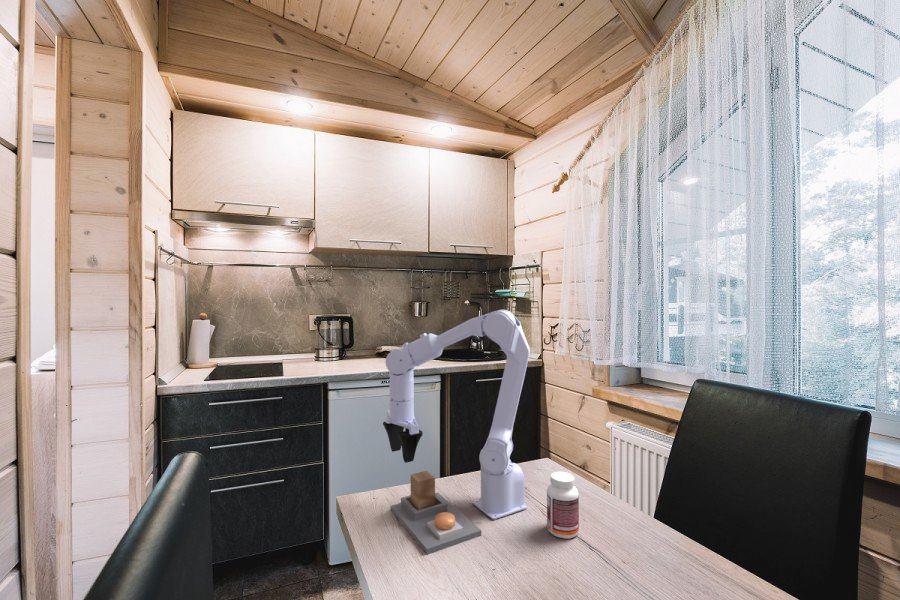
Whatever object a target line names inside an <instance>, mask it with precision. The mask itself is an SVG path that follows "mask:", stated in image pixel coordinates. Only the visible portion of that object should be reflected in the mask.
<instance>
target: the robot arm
mask: <svg viewBox="0 0 900 600" xmlns="http://www.w3.org/2000/svg"><path fill="white" fill-rule="evenodd" d="M472 336H474V337H484V336H486V337H487V338H489V339H490V340H491V341H493V342H495V343H496V344H497V345H499V347H500V349H501V350H502V351H503V353H504V354H505V355H506V360H505V365H504V370H503V374H502V378H501V384H500V387H499V391H498V397H497V400H496V405H495V408H494V409H495V410H494V414H493V418H492V423H491V427H490V430H489V433H488V437H487V438H486V442H485V444H484V446H483V448H482V449H481V450H480V453H479V456H478V457H479V458H478V459H479V463H480V499H477V500H474V501H473V503H472V504H473V505H474V506H475V507H477V509H479V510H480V511H481V512H482V513H484V514H485V515H486V516H487V517H488V518H490V519H491V520H497V519H500V518H503V517H506V516H508V515H511V514H514V513H517V512H520V511H523V510H526V509H527V508H528V506H527V505H526V504H525V499H526V497H525V495H526V494H525V491H526V490H525V486H526V485H525V475H524V472H523V470H522V468H521V467H520V465H519V464H518V463H515V462H512V461H511V458H510V457H511V454H512V452H513V450H514V443H513V440H512V437H513V430H514V423H515V420H516V415H517V411H518V406H519V402H520V397H521V393H522V389H523V385H524V381H525V377H526V372H527V367H528V362H529V360H530V359H529V358H530V355H531V351H530V350H531V349H530V345H529V343H528V341H527V338H526V336H525V333H524V331H523V327H522V323H521V321H520V320H519V319H518V318H517V317H516V316H515V315H514V313H513V312H511V311H510V310H507V309H499V310H494V311H491V312H489V313H486V314H482V315H479V316H476V317H472V318H470V319H467V320H466V321H464V322H461V323H460V324H459V325H456V326H454V327H453V328H451V329H448V330H446V331H445V332H443V333H441V334H438V335H437V334H434V333H428V334H427V333H426V332H424V333H422V334H420V335H419V338H417V339H415V340H414V341H412V342H405V343H403V344H402V347H400V348H394V349H392V351H390V352H389V353H388V354H387V355H386V358H385V366H386V369H387V370H388V372H389V409H387V410H386V418H384V421H383V422H382V425H383V427H384V429H385V432H386V434H387V438H388V441H389V442H388V443H389V446H390V450H391V452H392V453H393V452H399V451H402V458H403V459H402V460H403V463H405V464H407V463H410V462H414V460H415V459H414V458H415V456H416V450H417V447H418V444H419V442H420V440H421V438H422V437H423V431H422V430H421V429H420V425H419V424H418V423H417V420H416V416H415V389H414V387H415V386H414V385H415V382H414V381H415V380H414V379H415V378H414V372H415V371H414V369H415V367H419V366H422V365H424V364H426V363H427V362H430V361H433V360H434V359H437V358H438V357H441V355H442V354H443V351H444V348H447V347H449V346H450V345H453V344H455V343H457V342H459V341H460V342H461V341H462V340H465V339H467V338H470V337H472ZM401 449H402V450H401Z"/></svg>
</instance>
